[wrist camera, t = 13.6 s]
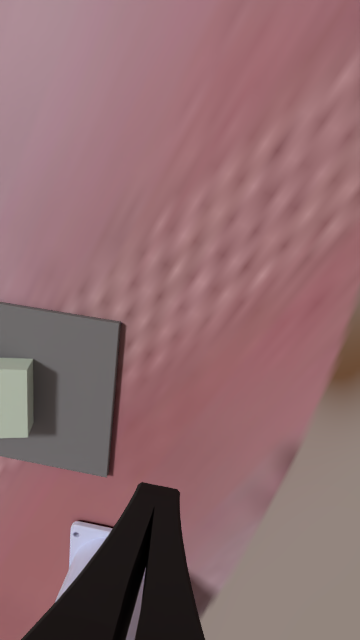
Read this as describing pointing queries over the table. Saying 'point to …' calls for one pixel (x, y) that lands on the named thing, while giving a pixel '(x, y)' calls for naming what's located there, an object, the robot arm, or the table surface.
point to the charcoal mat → (64, 386)
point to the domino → (16, 397)
